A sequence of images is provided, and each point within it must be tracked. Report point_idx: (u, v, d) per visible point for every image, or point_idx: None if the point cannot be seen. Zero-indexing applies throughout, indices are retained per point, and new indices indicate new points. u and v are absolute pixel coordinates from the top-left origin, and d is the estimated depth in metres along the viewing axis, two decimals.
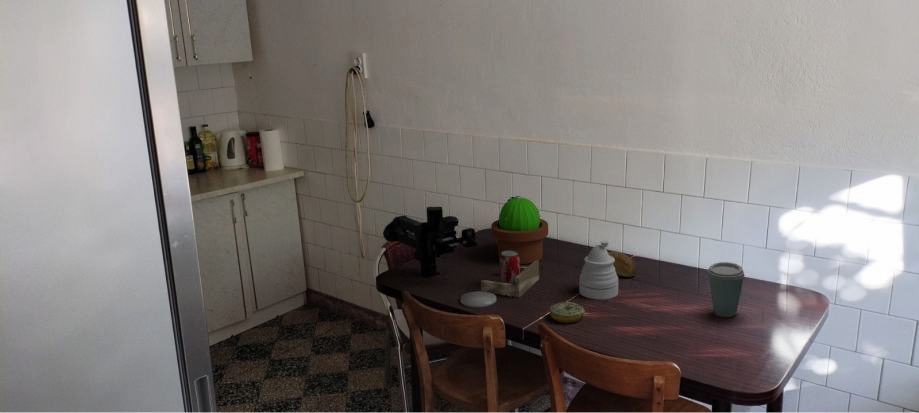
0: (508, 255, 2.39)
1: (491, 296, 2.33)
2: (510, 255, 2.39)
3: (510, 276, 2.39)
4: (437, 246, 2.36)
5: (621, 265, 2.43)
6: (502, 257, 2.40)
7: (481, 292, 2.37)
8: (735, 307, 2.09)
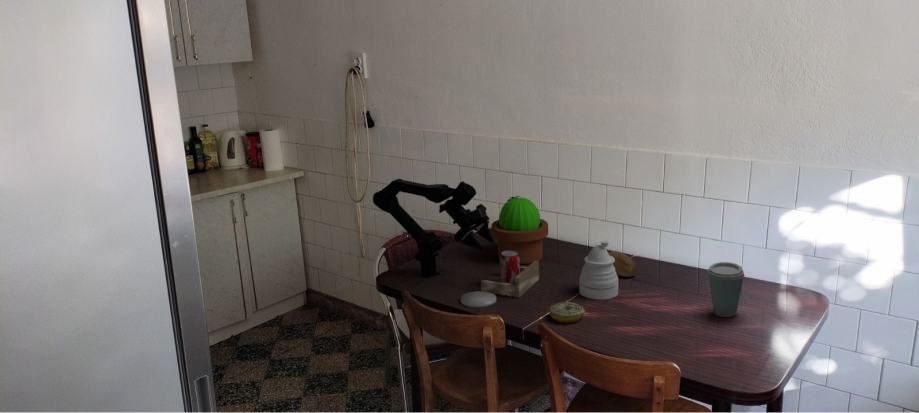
0: (508, 255, 2.39)
1: (491, 296, 2.33)
2: (510, 255, 2.39)
3: (510, 276, 2.39)
4: (467, 237, 2.39)
5: (622, 265, 2.43)
6: (502, 257, 2.40)
7: (481, 292, 2.37)
8: (735, 307, 2.09)
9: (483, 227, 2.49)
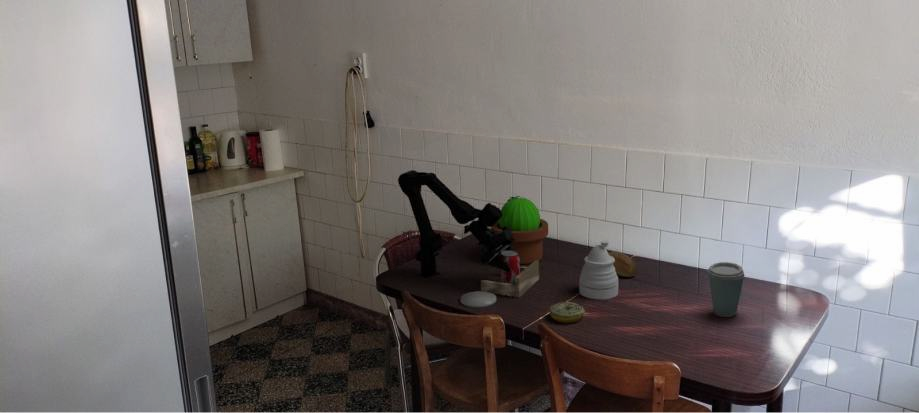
0: (508, 255, 2.39)
1: (491, 296, 2.33)
2: (510, 255, 2.39)
3: (510, 276, 2.39)
4: (494, 259, 2.37)
5: (622, 265, 2.43)
6: (502, 257, 2.40)
7: (481, 292, 2.37)
8: (735, 307, 2.09)
9: (507, 249, 2.45)
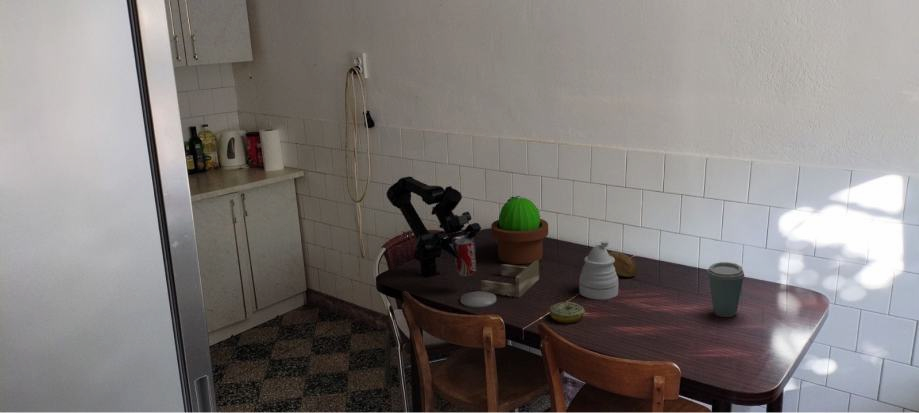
0: (459, 243, 2.35)
1: (491, 296, 2.33)
2: (461, 243, 2.34)
3: (460, 264, 2.35)
4: (444, 243, 2.35)
5: (622, 265, 2.43)
6: (454, 244, 2.36)
7: (481, 292, 2.37)
8: (735, 307, 2.09)
9: (468, 236, 2.40)
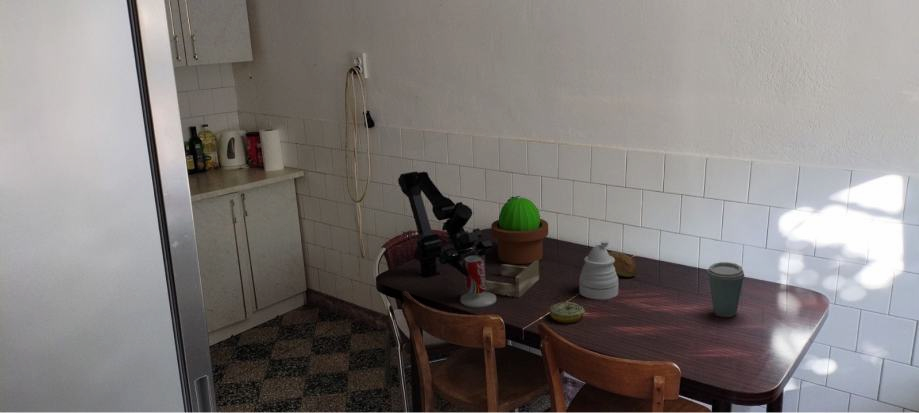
0: (469, 261, 2.29)
1: (491, 296, 2.33)
2: (471, 261, 2.28)
3: (470, 282, 2.29)
4: (453, 260, 2.29)
5: (622, 265, 2.43)
6: (464, 262, 2.30)
7: None
8: (735, 307, 2.09)
9: (479, 253, 2.34)
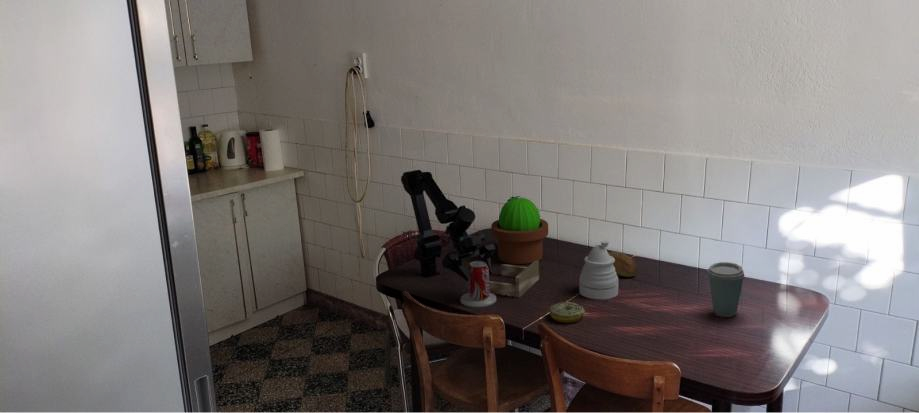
0: (474, 265, 2.28)
1: (491, 296, 2.33)
2: (476, 266, 2.28)
3: (473, 287, 2.28)
4: (453, 265, 2.27)
5: (622, 265, 2.43)
6: (469, 267, 2.29)
7: None
8: (735, 307, 2.09)
9: (485, 256, 2.33)
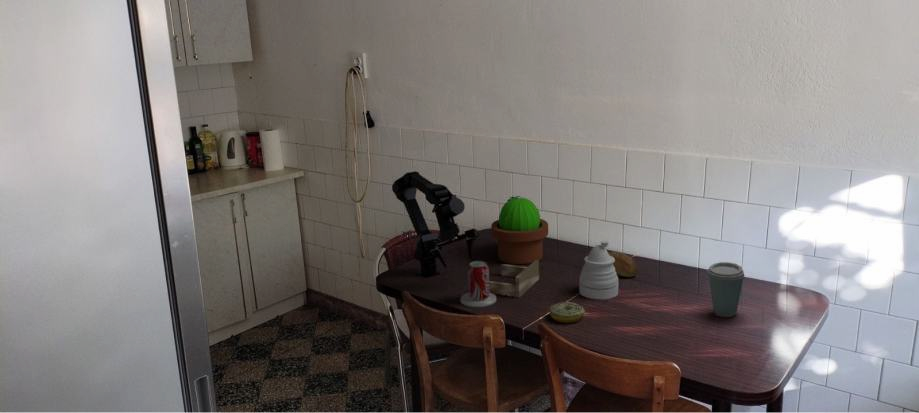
0: (474, 266, 2.28)
1: (491, 296, 2.33)
2: (476, 266, 2.28)
3: (473, 288, 2.28)
4: None
5: (622, 265, 2.43)
6: (469, 267, 2.29)
7: None
8: (735, 307, 2.09)
9: None
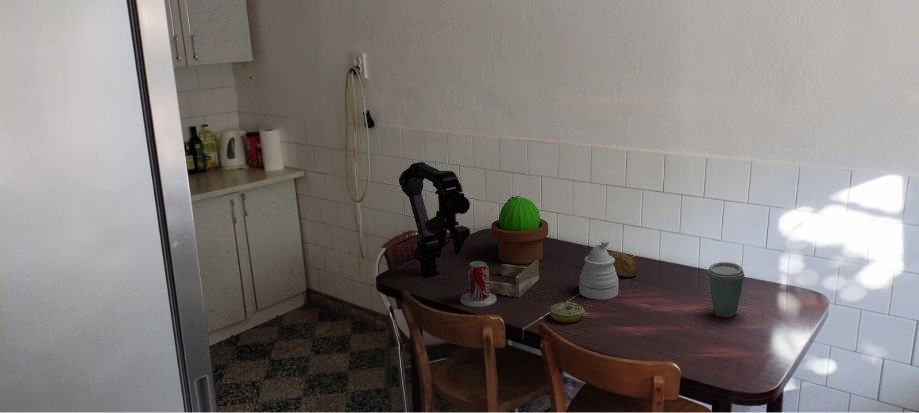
0: (474, 266, 2.28)
1: (491, 296, 2.33)
2: (476, 266, 2.28)
3: (473, 288, 2.28)
4: None
5: (622, 265, 2.43)
6: (469, 267, 2.29)
7: None
8: (735, 307, 2.09)
9: None
